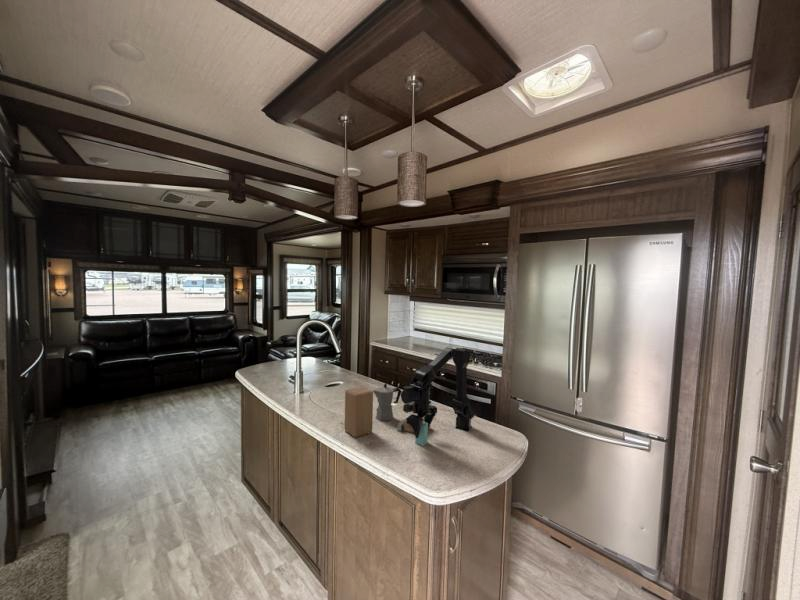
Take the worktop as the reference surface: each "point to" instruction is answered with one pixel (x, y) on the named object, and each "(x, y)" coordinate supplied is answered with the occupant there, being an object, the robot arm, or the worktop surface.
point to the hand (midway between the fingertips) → (421, 433)
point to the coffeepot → (385, 402)
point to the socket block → (409, 427)
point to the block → (358, 411)
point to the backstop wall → (401, 426)
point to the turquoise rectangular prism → (422, 435)
